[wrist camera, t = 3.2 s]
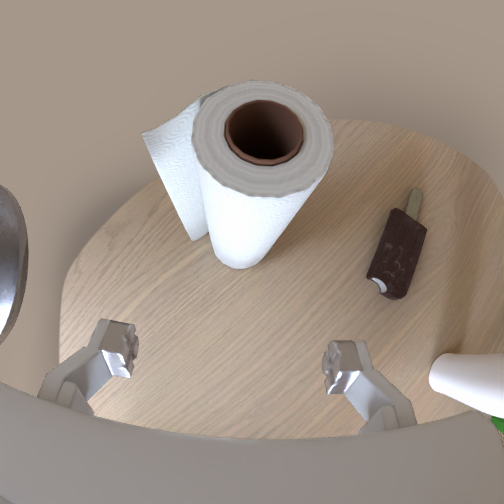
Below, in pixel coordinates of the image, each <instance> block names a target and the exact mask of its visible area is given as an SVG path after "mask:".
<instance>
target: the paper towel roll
mask: <svg viewBox="0 0 504 504" xmlns="http://www.w3.org/2000/svg"><path fill="white" fill-rule="evenodd" d="M141 135H142V137H143V140H144V142H145V144H146V146H147V149H148V151H149V153H150V155H151V157H152V160H153V162H154V164H155V166H156V168H157V171H158V173H159V175H160V177H161V179H162V181H163V183H164V185H165V188H166V190H167V192H168V194H169V196H170V198H171V200H172V202H173V204H174V206H175V208H176V210H177V213H178V215H179V217H180V219H181V221H182V223H183V225H184V227H185V229H186V231H187V233H188V235H189V237H190V239H191V241H195V240H198V239H199V238H201V237H202V236H204V235H205V234H206V233H207V232H208V231H209V235H210V240H211V244H212V247H213V250H214V253H215V255H216V257H217V258H218V259H219V260H220V261H221V262H222V263H223V264H225V265H227V266H229V267H232V268H234V269H246V268H249V267H251V266H254V265H256V264H257V263H258V262H259V261H260V260H261V259H262V258H263V257H264V256H265V255H266V254H267V252H268V251H269V250H270V248H271V247H272V246H273V244H274V243H275V242H276V240H277V239H278V238H279V236H280V235H281V234H282V232H283V231H284V230H285V228H286V227H287V225H288V224H289V223H290V221H291V220H292V219H293V217H294V216H295V215H296V213H297V212H298V211H299V209H300V208H301V207H302V205H303V204H304V203H305V201H306V200H307V198H308V197H309V196H310V194H311V193H312V192H313V190H314V189H315V188H316V186H317V185H318V184H319V182H320V181H321V179H322V178H323V177H324V175H325V174H326V172H327V169H328V167H329V164H330V161H331V159H332V156H333V153H334V143H333V134H332V127H331V125H330V124H329V122H328V120H327V119H326V117H325V115H324V113H323V112H322V110H321V109H320V107H319V106H318V105H317V104H315V103H314V102H313V101H312V100H311V99H309V98H308V97H307V96H306V95H304V94H303V93H302V92H301V91H299V90H296V89H294V88H291V87H288V86H286V85H284V84H281V83H278V82H272V81H260V80H249V81H245V82H241V83H237V84H233V85H229V86H226V87H223V88H220V89H217V90H215V91H212V92H209V93H207V94H204V95H201V96H199V97H198V98H197V99H196V100H195V101H193V102H192V103H191V104H189V105H188V106H187V107H186V108H184V110H182V111H181V112H180V113H178V114H177V115H176V116H175V117H173V118H171V119H170V120H168V121H166V122H164V123H163V124H161V125H159V126H158V127H156V128H154V129H151V130H148V131H145V132H142V133H141Z"/></svg>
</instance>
